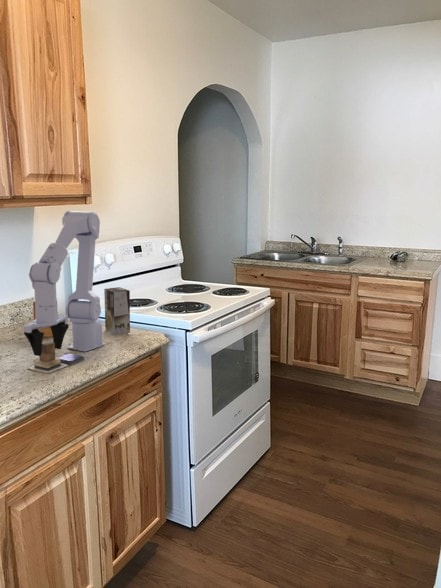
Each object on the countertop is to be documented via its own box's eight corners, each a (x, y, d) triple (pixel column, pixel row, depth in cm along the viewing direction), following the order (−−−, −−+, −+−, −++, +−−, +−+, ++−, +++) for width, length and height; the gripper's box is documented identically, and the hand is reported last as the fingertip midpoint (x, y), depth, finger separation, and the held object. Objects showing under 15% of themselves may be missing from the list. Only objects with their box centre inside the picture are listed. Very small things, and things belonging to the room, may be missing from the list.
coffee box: (130, 334, 180) (130, 290, 178) (114, 336, 177) (113, 291, 174) (120, 328, 188) (120, 286, 185) (104, 330, 184) (103, 287, 181)
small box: (34, 338, 172) (32, 301, 170) (34, 333, 178) (33, 297, 176) (58, 336, 175) (57, 300, 173) (58, 332, 181) (57, 297, 179)
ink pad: (69, 356, 152) (69, 353, 152) (84, 359, 150) (84, 356, 150) (55, 362, 147) (54, 358, 147) (70, 365, 145) (70, 361, 144)
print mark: (48, 361, 148) (48, 360, 148) (69, 365, 144) (69, 364, 144) (27, 369, 141) (27, 368, 141) (48, 374, 137) (48, 372, 137)
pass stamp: (47, 362, 146) (47, 339, 144) (60, 365, 144) (59, 342, 142) (34, 367, 141) (33, 343, 140) (47, 370, 139) (46, 346, 138)
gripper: (54, 299, 147) (56, 343, 150) (14, 308, 134) (17, 356, 137) (72, 302, 144) (74, 347, 147) (33, 311, 131) (36, 360, 134)
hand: (47, 351), depth 141 cm, fingers open, 7 cm apart
